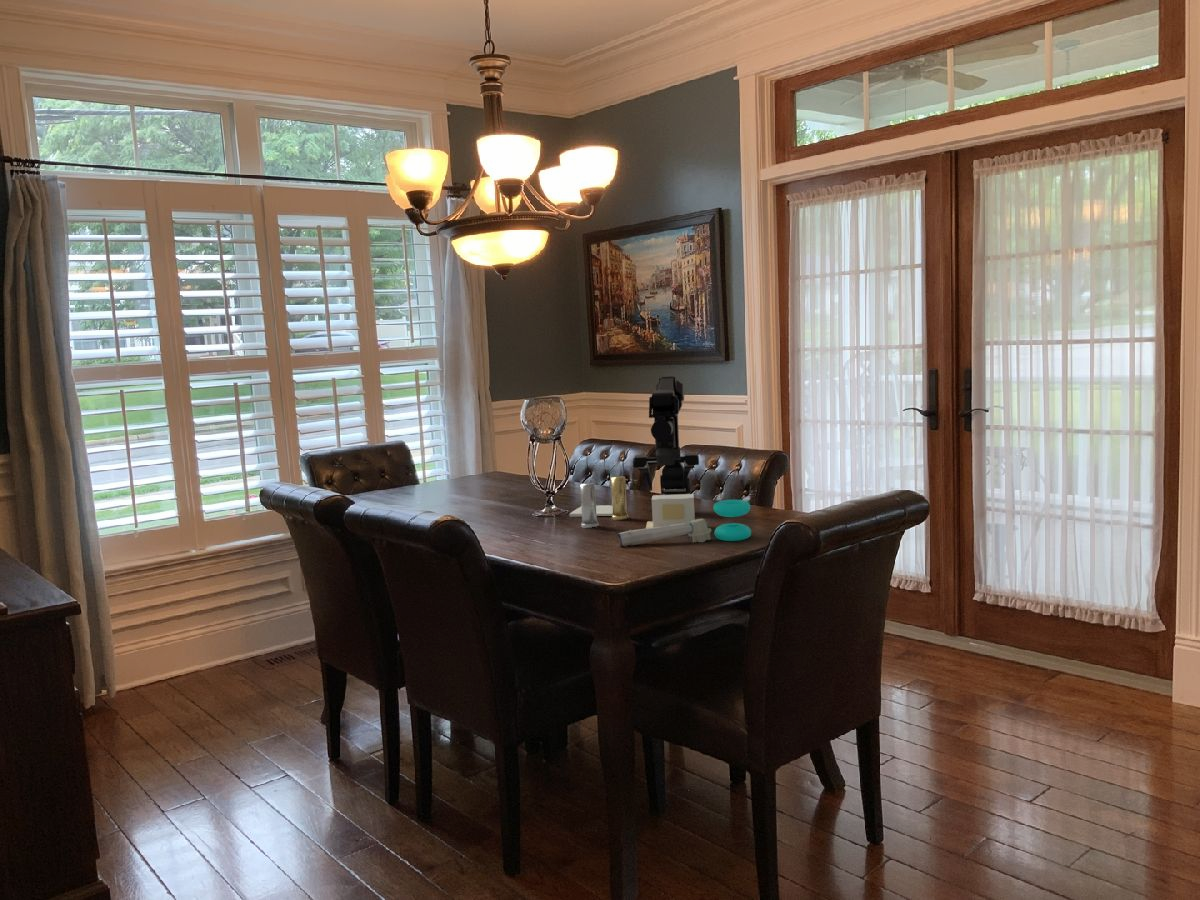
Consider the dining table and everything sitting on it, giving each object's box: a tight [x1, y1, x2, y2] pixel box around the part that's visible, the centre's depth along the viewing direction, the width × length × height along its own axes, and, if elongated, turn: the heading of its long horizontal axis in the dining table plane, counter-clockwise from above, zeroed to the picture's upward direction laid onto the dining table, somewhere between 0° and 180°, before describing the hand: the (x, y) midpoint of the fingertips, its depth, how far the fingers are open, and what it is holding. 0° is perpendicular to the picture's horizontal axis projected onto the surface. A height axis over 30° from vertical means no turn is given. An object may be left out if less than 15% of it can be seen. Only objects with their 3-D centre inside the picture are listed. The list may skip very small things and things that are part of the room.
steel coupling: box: [579, 482, 599, 529], centre depth 285 cm, size 5×5×13 cm
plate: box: [568, 504, 613, 518], centre depth 308 cm, size 14×14×1 cm
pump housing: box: [645, 493, 696, 529], centre depth 278 cm, size 12×16×9 cm
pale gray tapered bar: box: [617, 518, 712, 547], centre depth 258 cm, size 5×7×25 cm
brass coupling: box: [610, 475, 629, 521], centre depth 295 cm, size 5×5×13 cm
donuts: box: [712, 499, 752, 542], centre depth 260 cm, size 10×10×10 cm
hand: (667, 489), depth 275 cm, fingers open, 9 cm apart
